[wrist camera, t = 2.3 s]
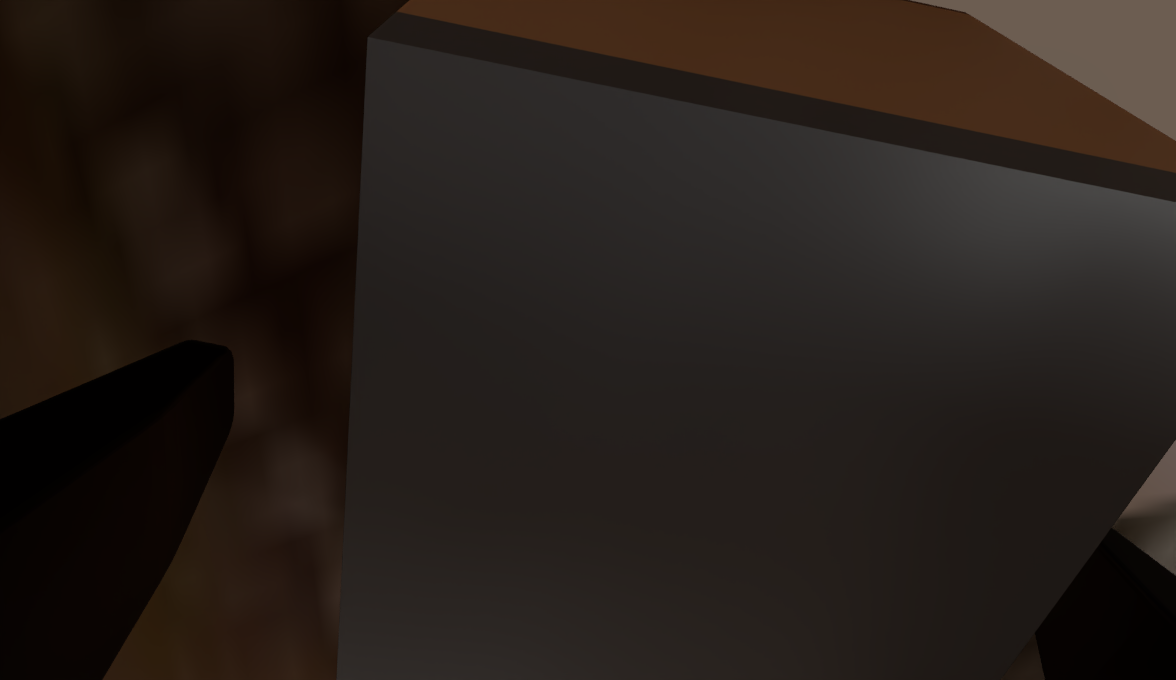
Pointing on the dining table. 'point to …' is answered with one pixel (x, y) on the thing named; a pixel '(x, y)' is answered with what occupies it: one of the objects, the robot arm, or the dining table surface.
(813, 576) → the tan and grey block
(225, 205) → the dining table surface
